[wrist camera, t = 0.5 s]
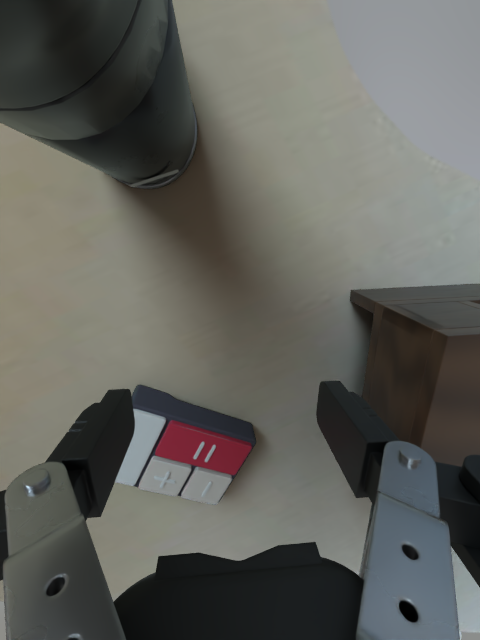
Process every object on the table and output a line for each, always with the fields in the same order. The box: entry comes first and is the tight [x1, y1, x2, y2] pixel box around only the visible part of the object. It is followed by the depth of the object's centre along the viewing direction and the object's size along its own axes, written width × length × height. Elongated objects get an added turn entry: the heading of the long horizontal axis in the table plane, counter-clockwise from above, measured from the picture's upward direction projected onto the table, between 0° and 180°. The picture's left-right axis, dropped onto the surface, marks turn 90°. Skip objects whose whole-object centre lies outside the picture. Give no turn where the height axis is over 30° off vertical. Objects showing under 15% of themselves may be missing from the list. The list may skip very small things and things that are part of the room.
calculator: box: [115, 385, 256, 505], centre depth 32 cm, size 11×4×15 cm
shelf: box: [350, 284, 480, 467], centre depth 27 cm, size 20×20×13 cm
